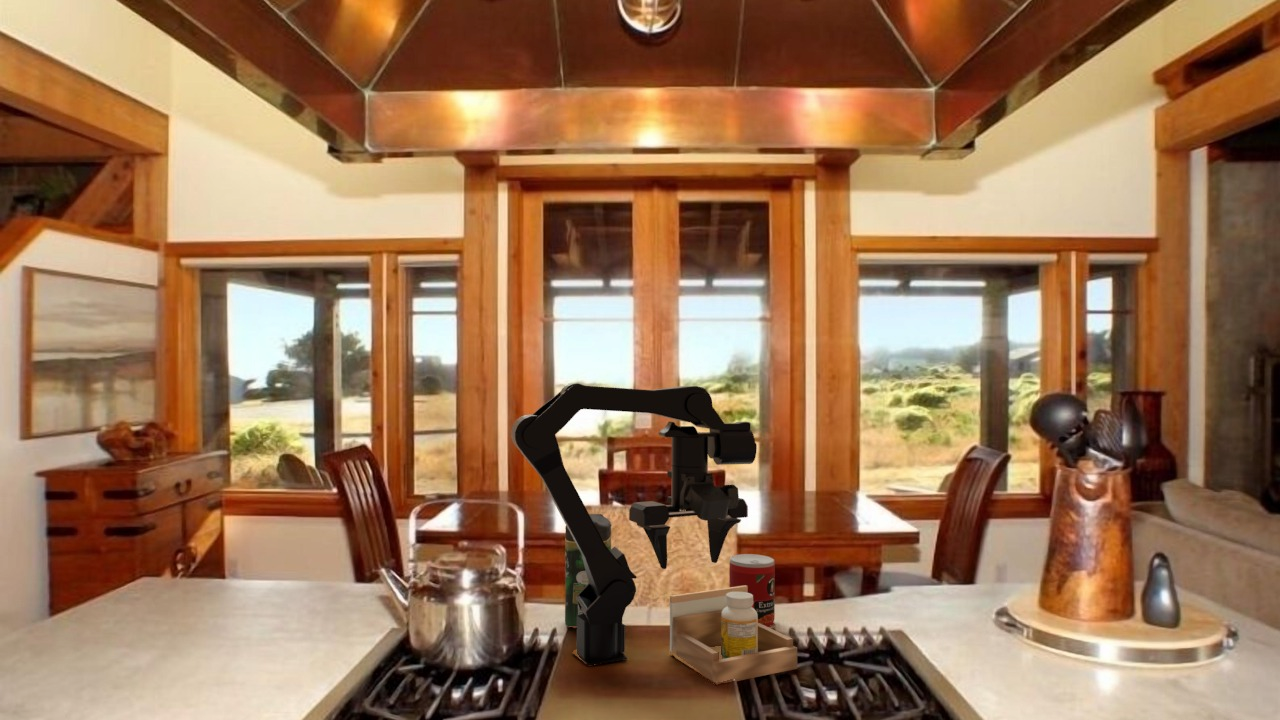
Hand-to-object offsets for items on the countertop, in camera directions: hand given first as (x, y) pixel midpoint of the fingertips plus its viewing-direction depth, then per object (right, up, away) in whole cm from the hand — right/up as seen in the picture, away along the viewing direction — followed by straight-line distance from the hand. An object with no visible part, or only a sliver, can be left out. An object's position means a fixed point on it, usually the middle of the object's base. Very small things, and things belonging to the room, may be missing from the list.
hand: (689, 565), depth 119 cm
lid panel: (+3, -13, 0) cm, 13 cm away
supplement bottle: (+7, -12, -7) cm, 16 cm away
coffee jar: (-17, -14, +12) cm, 25 cm away
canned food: (+12, -14, +13) cm, 23 cm away
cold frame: (+6, -13, -6) cm, 16 cm away
